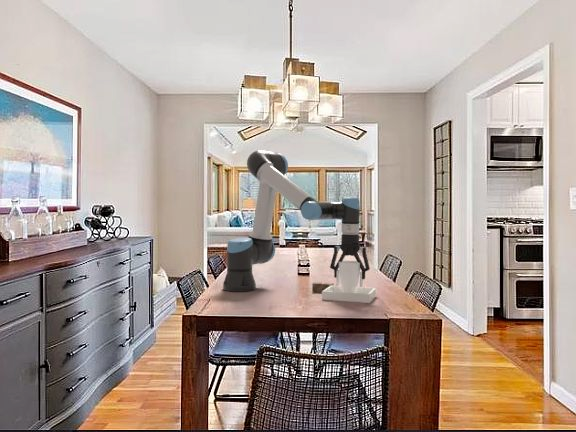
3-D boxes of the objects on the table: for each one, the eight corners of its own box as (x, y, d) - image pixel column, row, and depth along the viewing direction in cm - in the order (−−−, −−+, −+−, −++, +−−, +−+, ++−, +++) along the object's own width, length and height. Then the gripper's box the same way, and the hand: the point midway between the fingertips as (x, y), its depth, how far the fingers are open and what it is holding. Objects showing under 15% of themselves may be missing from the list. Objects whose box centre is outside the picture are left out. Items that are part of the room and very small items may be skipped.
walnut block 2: (321, 292, 234) (321, 283, 234) (326, 291, 237) (326, 282, 237) (329, 293, 231) (329, 284, 231) (333, 292, 235) (333, 283, 235)
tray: (322, 299, 217) (322, 291, 216) (331, 293, 232) (331, 285, 232) (369, 303, 210) (369, 294, 210) (375, 296, 225) (375, 288, 225)
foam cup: (359, 294, 215) (360, 263, 215) (337, 293, 217) (337, 262, 217) (360, 290, 225) (361, 260, 224) (339, 289, 226) (340, 260, 226)
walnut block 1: (312, 292, 234) (312, 283, 234) (313, 290, 238) (313, 282, 238) (321, 292, 234) (321, 283, 233) (321, 291, 238) (321, 282, 237)
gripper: (323, 233, 220) (322, 285, 221) (374, 235, 213) (373, 289, 214) (327, 232, 227) (326, 283, 228) (377, 234, 220) (376, 286, 221)
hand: (349, 286), depth 221 cm, fingers closed on foam cup, 9 cm apart
